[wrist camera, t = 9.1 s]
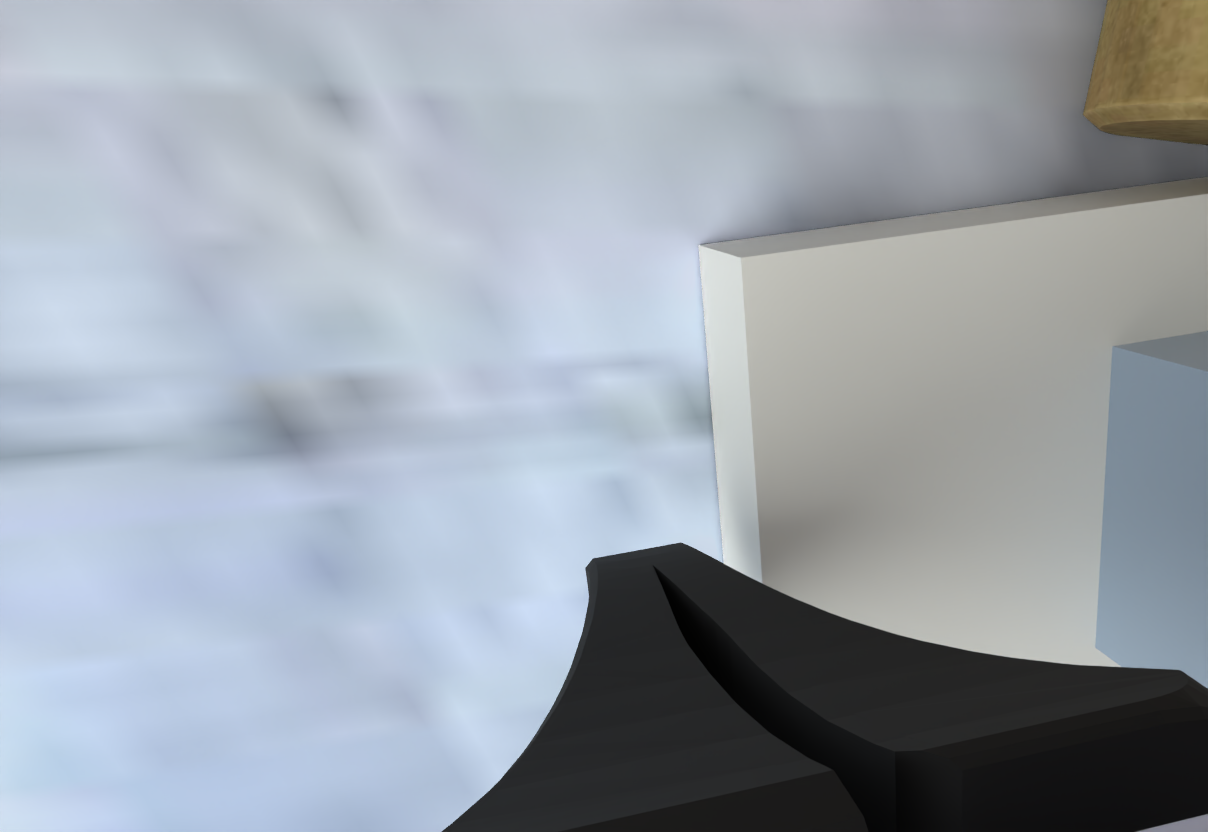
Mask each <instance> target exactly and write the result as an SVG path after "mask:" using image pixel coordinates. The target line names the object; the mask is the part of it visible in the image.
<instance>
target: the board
mask: <svg viewBox="0 0 1208 832" xmlns="http://www.w3.org/2000/svg"><path fill="white" fill-rule="evenodd" d="M698 246H699V259H700V272H701V284H702V297H703V309H704V322H705V335H706V347H707V360H708V372H709V385H710V398H711V410H712V423H713V435H714V448H715V461H716V473H717V486H718V498H719V511H720V524H721V536H722V549H723V561H724V564H725V565H727V566H729V567H731V568H733V569H735V570H737V571H739V572H741V573H742V574H744V575H746V576H748V577H750V578H752V579H754V580H756V581H758V582H760V583H762V584H765V585H767V586H769V587H771V588H773V589H775V590H777V591H779V592H782V593H784V594H786V595H788V596H790V597H793V598H795V599H797V600H800V601H802V602H805V603H807V604H810V605H812V606H814V607H817V608H819V609H822V610H824V611H827V612H829V613H832V614H834V615H837V616H840V617H843V618H846V619H849V620H851V621H855V622H858V623H861V624H864V625H868V626H871V627H874V628H877V629H881V630H884V631H887V632H890V633H894V634H897V635H901V636H905V637H909V638H913V639H917V640H921V641H925V642H930V643H935V644H940V645H945V646H949V647H954V648H959V649H964V650H968V651H974V652H980V653H986V654H992V655H998V656H1005V657H1011V658H1020V659H1028V660H1037V661H1045V662H1054V663H1062V664H1073V665H1089V666H1110V667H1121V666H1120V665H1118V664H1117V663H1116V662H1114V661H1113V660H1111V659H1110V658H1109V657H1107V656H1106V655H1105V654H1103V653H1102V652H1101V651H1099V650H1098V649H1096V648H1095V642H1096V625H1097V607H1098V590H1099V572H1100V555H1101V537H1102V519H1103V502H1104V484H1105V467H1106V449H1107V432H1108V414H1109V397H1110V379H1111V361H1112V346H1117V345H1123V344H1130V343H1136V342H1142V341H1148V340H1154V339H1161V338H1167V337H1173V336H1179V335H1185V334H1192V333H1198V332H1204V331H1208V177H1202V178H1194V179H1187V180H1179V181H1172V182H1164V183H1157V184H1149V185H1142V186H1134V187H1127V188H1120V189H1112V190H1105V191H1097V192H1090V193H1082V194H1075V195H1067V196H1060V197H1052V198H1045V199H1038V200H1030V201H1023V202H1015V203H1008V204H1000V205H993V206H985V207H978V208H970V209H963V210H955V211H948V212H941V213H933V214H926V215H918V216H911V217H903V218H896V219H888V220H881V221H873V222H866V223H858V224H851V225H844V226H836V227H829V228H821V229H814V230H806V231H799V232H791V233H784V234H776V235H769V236H761V237H754V238H747V239H739V240H732V241H724V242H717V243H709V244H702V245H698Z"/></svg>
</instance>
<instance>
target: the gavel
mask: <svg viewBox="0 0 1208 832" xmlns="http://www.w3.org/2000/svg"><path fill="white" fill-rule="evenodd" d="M1083 115H1084V116H1085V117H1086V118H1087V119H1088V120H1089V121H1090V122H1091V123H1092V124H1094V125H1095V126H1096V127H1097V128H1098V129H1100V130H1101V131H1104V132H1107V133H1110V134H1115V135H1121V136H1130V137H1139V138H1148V139H1157V140H1165V141H1174V142H1183V143H1192V144H1203V145H1208V0H1108V1H1107V6H1106V10H1105V15H1104V20H1103V24H1102V29H1101V34H1100V38H1099V43H1098V48H1097V52H1096V57H1095V61H1094V66H1093V71H1092V75H1091V80H1090V85H1089V89H1088V94H1087V99H1086V103H1085V108H1084V113H1083Z"/></svg>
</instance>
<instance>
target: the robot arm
mask: <svg viewBox="0 0 1208 832" xmlns="http://www.w3.org/2000/svg"><path fill="white" fill-rule="evenodd" d="M586 575H587V583H588V591H589V603H588V608H587V613H586V618H585V623H584V628H583V632H582V635H581V638H580V641H579V645H578V648H577V651H576V654H575V657H574V660H573V663H572V665H571V668H570V670H569V673H568V675H567V678H566V680H565V682H564V684H563V687H562V689H561V691H560V693H559V695H558V697H557V699H556V701H555V703H554V705H553V706H552V708H551V710H550V712H549V713H548V715H547V717H546V718H545V720H544V722H543V723H542V725H541V727H540V728H539V730H538V731H537V733H536V735H535V736H534V738H533V739H532V741H531V742H530V744H529V745H528V746H527V748H526V749H525V750H524V752H523V753H522V754H521V756H520V757H519V758H518V759H517V760H516V762H515V763H514V764H513V765H512V766H511V768H510V769H509V770H508V771H507V772H506V774H505V775H504V776H503V777H502V778H501V780H500V781H499V782H498V783H497V784H496V785H495V786H494V787H493V788H492V789H491V790H490V791H489V792H488V793H487V794H485V795H484V796H483V797H482V798H481V799H480V800H478V801H477V802H476V803H475V804H474V805H473V806H472V807H470V808H469V809H468V810H467V811H466V812H465V813H464V814H462V815H461V816H460V817H459V818H458V819H457V820H455V821H454V822H453V823H452V824H451V825H450V826H448V827H447V828H446V829H444V830H443V831H442V832H1208V689H1207V688H1206V687H1205V686H1203V685H1202V684H1200V683H1199V682H1197V681H1196V680H1194V679H1193V678H1191V677H1190V676H1189V675H1187V674H1186V673H1184V672H1183V671H1181V670H1173V669H1152V668H1131V667H1110V666H1089V665H1073V664H1062V663H1054V662H1045V661H1037V660H1028V659H1020V658H1011V657H1005V656H998V655H992V654H986V653H980V652H974V651H968V650H964V649H959V648H954V647H949V646H945V645H940V644H935V643H930V642H925V641H921V640H917V639H913V638H909V637H905V636H901V635H897V634H894V633H890V632H887V631H884V630H881V629H877V628H874V627H871V626H868V625H864V624H861V623H858V622H855V621H851V620H849V619H846V618H843V617H840V616H837V615H834V614H832V613H829V612H827V611H824V610H822V609H819V608H817V607H814V606H812V605H810V604H807V603H805V602H802V601H800V600H797V599H795V598H793V597H790V596H788V595H786V594H784V593H782V592H779V591H777V590H775V589H773V588H771V587H769V586H767V585H765V584H762V583H760V582H758V581H756V580H754V579H752V578H750V577H748V576H746V575H744V574H742V573H741V572H739V571H737V570H735V569H733V568H731V567H729V566H727V565H725V564H723V563H721V562H720V561H718V560H716V559H714V558H712V557H710V556H708V555H706V554H704V553H702V552H700V551H698V550H696V549H694V548H692V547H690V546H688V545H686V544H683V543H676V544H671V545H665V546H660V547H654V548H649V549H643V550H638V551H632V552H627V553H621V554H616V555H610V556H605V557H599V558H594V559H592V561H591V562H590V563H589V564H588V566H587V567H586Z"/></svg>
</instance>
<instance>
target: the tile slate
mask: <svg viewBox="0 0 1208 832" xmlns="http://www.w3.org/2000/svg"><path fill="white" fill-rule="evenodd" d="M1095 648H1096V649H1098V650H1099V651H1101V652H1102V653H1103V654H1105V655H1106V656H1107V657H1109V658H1110V659H1111V660H1113V661H1114V662H1116V663H1117V664H1118V665H1120V666H1121V667H1131V668H1152V669H1173V670H1181V671H1183V672H1184V673H1186V674H1187V675H1189V676H1190V677H1191V678H1193V679H1194V680H1196V681H1197V682H1199V683H1200V684H1202V685H1203V686H1205V687H1206V688H1207V689H1208V331H1204V332H1198V333H1192V334H1185V335H1179V336H1173V337H1167V338H1161V339H1154V340H1148V341H1142V342H1136V343H1130V344H1123V345H1117V346H1112V361H1111V379H1110V397H1109V414H1108V432H1107V449H1106V467H1105V484H1104V502H1103V519H1102V537H1101V555H1100V572H1099V590H1098V607H1097V625H1096V642H1095Z"/></svg>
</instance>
